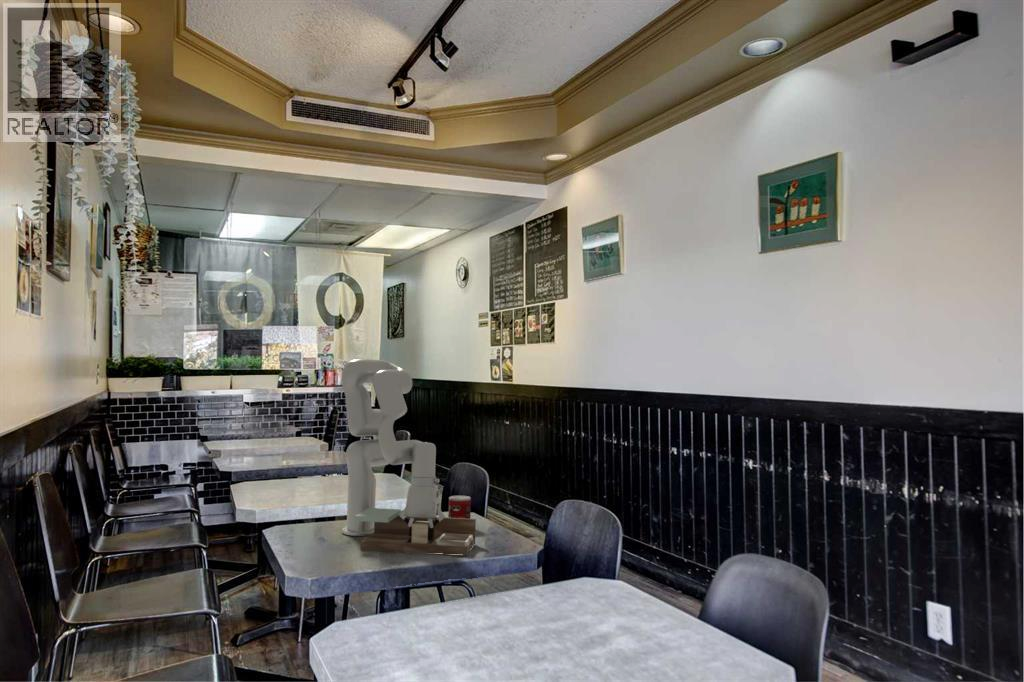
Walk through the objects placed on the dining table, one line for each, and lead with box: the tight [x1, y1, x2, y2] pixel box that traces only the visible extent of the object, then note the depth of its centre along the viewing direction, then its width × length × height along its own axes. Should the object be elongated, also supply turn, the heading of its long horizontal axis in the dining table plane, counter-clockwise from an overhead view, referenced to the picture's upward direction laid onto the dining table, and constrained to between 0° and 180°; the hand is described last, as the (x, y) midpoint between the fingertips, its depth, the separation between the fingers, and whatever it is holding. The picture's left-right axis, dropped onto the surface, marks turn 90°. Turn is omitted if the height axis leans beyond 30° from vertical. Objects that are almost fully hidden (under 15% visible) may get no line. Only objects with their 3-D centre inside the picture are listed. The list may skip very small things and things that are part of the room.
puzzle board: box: [359, 515, 477, 556], centre depth 210 cm, size 14×34×8 cm, turn 83°
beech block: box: [412, 521, 431, 544], centre depth 209 cm, size 5×5×8 cm
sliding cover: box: [354, 507, 402, 523], centre depth 212 cm, size 13×11×2 cm
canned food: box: [447, 495, 472, 519], centre depth 238 cm, size 8×8×11 cm
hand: (421, 538), depth 209 cm, fingers closed on beech block, 5 cm apart
